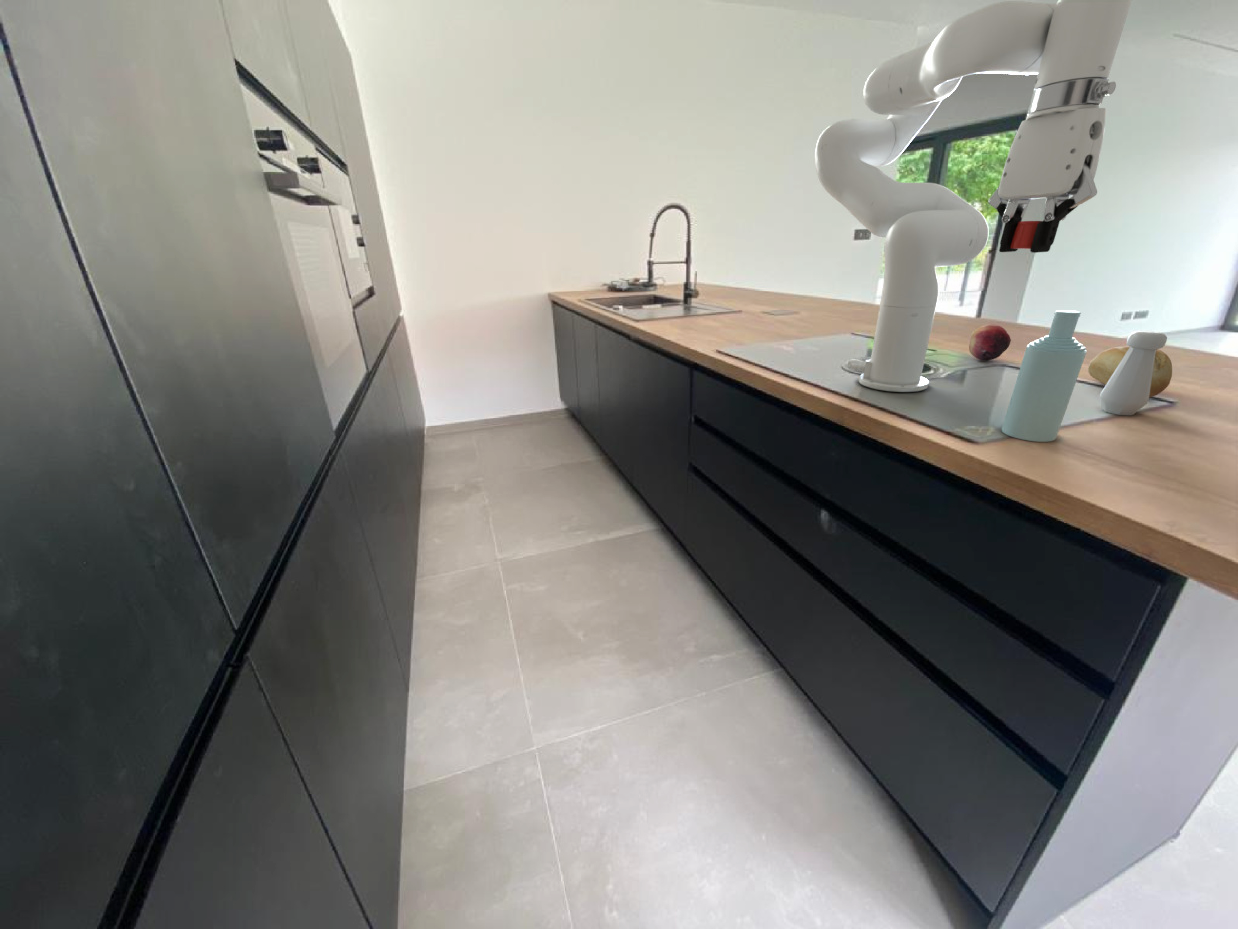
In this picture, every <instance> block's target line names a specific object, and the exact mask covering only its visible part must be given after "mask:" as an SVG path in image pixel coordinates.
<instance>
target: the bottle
mask: <svg viewBox="0 0 1238 929" xmlns="http://www.w3.org/2000/svg"><path fill="white" fill-rule="evenodd" d="M1081 314H1082V312H1081V311H1080V310H1071V309H1058V310H1055V312H1054V316H1053V319H1052V322H1051V325H1050V327H1049V332H1048V334H1047V335H1044V337H1043V336H1042V337H1040V338H1039V339H1035V340H1034V341H1031V342H1030V343H1029V344H1027V345H1026V347H1025V350H1024V354H1023V357H1022V360H1021V364H1020V368H1019V371H1018V374H1017V377H1016V380H1015V383H1014V387H1013V391H1012V394H1011V397H1010V400H1009V404H1008V406H1007V410H1006V414H1005V417H1004V420H1003V423H1002V426H1001V432H1002V433H1003V434H1005V435H1007V436H1009V437H1011V438H1015V439H1018V440H1023V441H1028V442H1036V443H1037V442H1038V443H1047V442H1053V441H1056V439H1057V436H1058V435H1059V434H1058V433H1059V431H1060V428H1061V425H1062V423H1063V420H1064V417H1065V415H1066V411H1067V409H1068V405H1069V403H1070V401H1071V397H1072V394H1073V392H1074V389H1075V386H1076V383H1077V380H1078V377H1079V374H1080V372H1081V369H1082V366H1083V363H1084V360H1085V357H1086V355H1087V352H1088V350H1087V349H1086V346H1085V345H1083V343H1081V342H1080V341H1079V340H1077V339H1076V337H1073V336H1074V333H1075V330H1076V327H1077V324H1078V322H1079V319H1080V317H1081Z"/></svg>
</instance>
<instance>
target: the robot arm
mask: <svg viewBox="0 0 1238 929" xmlns="http://www.w3.org/2000/svg"><path fill="white" fill-rule="evenodd" d="M1131 4H1132V0H1057V1H1056V3H1043V2H1032V1H1023V0H1022V1H1021V0H1007V1H1000V2H995V3H992V4H988V5H986V6H983V7H980V8H978V9H976V10H973V11H972V12H968V13H967V14H964V15H962V16H959V17H958V18H955V19H954V20H952V21H950V22H949V23H948V24H947V25H945V26H944V27H943V28H942V30H941V31H940V32H939V33H938V34H937V35H936V37H935V38H934V39H933V40H932V41H931V42H928V43H926V44H924V45H921V46H918V47H916V48H914V49H911V50H908V51H906V52H904V53H901V54H899V55H896V56H894V57H892V58H889V59H887V60H885V61H884V62H882V63H880V64H879V65H878V66H877V67H875V68H874V70H872V71H871V73H870V74H869V76H868V77H867V79H866V81H865V84H864V87H863V92H862V94H863V95H862V96H863V101H864V103H865V105H866V107H867V109H869V110H870V111H871V112H873V113H875V114H876V115H877V114H878V115H882V116H883V115H884V116H885V115H886V116H888V117H887V118H848V119H843V120H839V121H836V122H833V123H832V124H830V125H828V126H827V127H826V128H825V129H823V130H822V132H821V133H820V135H819V137H818V139H817V141H816V144H815V149H814V165H815V170H816V175H817V178H818V180H819V182H820V184H821V186H822V187H823V189H824V190H825V191H826V192H827V193H828V194H829V195H830V196H831V197H832V198H833V199H835V201H837V202H838V203H839V204H840V205H842V207H844V208H845V209H846V210H847V211H848V212H849V213H850V214H851V215H852V216H853V217H854V218H855V219H856V220H857V221H858V222H859V223H860V224H861V225H862V226H864V227H865V229H866V230H868V231H869V232H870V233H871V234H872V235H874V236H876V237H880V238H885V240H884V246H883V256H884V257H883V258H884V259H883V260H884V274H883V282H882V283H883V284H882V292H881V297H880V303H879V309H878V315H877V320H876V327H875V333H874V338H873V344H872V348H871V354H870V355H871V357H870V358H869V359H865V360H861V359H860V360H859V359H854V358H850V359H849V360H848V362H847V368H848V369H850V370H851V371H860V372H861V374H860V375H859V377H858V382H859V384H861V385H862V386H864V387H867V388H870V389H873V390H877V391H878V390H879V391H882V392H883V391H885V392H892V393H914V392H920V391H921V392H922V391H924V390H926V389H928V388H929V384H930V381H929V380H928V379H927V378H925V377H924V376H922V374H923V369H924V365H925V361H926V357H927V356H926V355H927V352H928V346H929V344H930V338H931V333H932V328H933V325H934V321H935V320H934V319H935V317H936V316H935V315H936V310H937V307H938V301H939V295H940V284H939V283H940V282H939V279H938V276H937V271H936V268H941V267H953V266H961V265H964V264H966V263H969V262H971V261H972V260H974V259H976V258H977V257H978V256H979V255H980V254H981V253H982V252H983V250H984V249H985V248H986V247H987V246H986V245H987V243H988V240H989V234H990V232H989V231H990V230H989V225H988V222H987V220H986V218H985V216H984V215H983V214H982V212H980V211H979V210H978V209H977V208H975V207H974V206H973V205H972V204H970V203H969V202H967V201H966V200H965V199H964V198H962V197H961V196H959V195H958V194H956V193H955V192H954V191H952V190H951V189H950V188H948V187H947V186H944V185H942V184H939V183H935V182H904V181H903V182H902V181H901V182H900V181H897V180H894V179H893V178H891V177H890V176H888V175H887V174H886V173H885V172H884V171H882V170H881V169H880V168H881V167H885V166H888V165H890V164H891V163H893V162H894V161H895V160H897V159H898V158H899V157H900V156H901V155H902V153H903V152H904V151H905V150H906V149H907V147H908V146H909V145H910V143H911V142H912V141H913V140H914V139H915V137H916V136H917V135H918V133H919V132H920V131H921V129H922V128H923V127H924V125H925V124H926V123H927V122H928V121H929V120H930V118H931V117H932V115H933V114H934V113H935V111H936V110H937V109H938V107H939V106H940V104H941V102H942V101H943V100H944V99H946V98H947V97H949V96H951V94H953V92H955V90H956V89H957V88H958V86H959V85H960V83H961V81H962V79H963V77H966V76H971V75H974V74H976V75H977V74H1003V75H1005V74H1006V75H1007V74H1008V75H1022V76H1023V75H1025V76H1029V75H1037V76H1036V79H1035V84H1034V88H1033V92H1032V95H1031V99H1030V103H1029V107H1028V111H1027V116H1026V119H1024V120H1022V121H1021V122H1020V125H1019V126H1018V129H1017V131H1016V133H1015V136H1014V138H1013V141H1012V143H1011V146H1010V148H1009V150H1008V154H1007V157H1006V160H1005V163H1004V167H1003V170H1002V174H1001V177H1000V181H999V186H997V188H996V190H995V191H994V192H993V193H992V195H991V196H990V198H989V199H988V205H990V207H992V208H993V209H995V210H996V212H997V213H998V214H999V215H1000V217H1001V222H1002V224H1004V226H1003V230H1002V233H1001V234H1002V235H1001V237H1000V242H999V245H1000V246H999V250H998V251H999V253H1010V252H1011V253H1012V252H1017V251H1018V250H1019V249H1012V248H1011V247H1010V246H1011V243H1012V240H1013V237H1014V233H1015V230H1016V227H1017V226H1018V222H1020V221H1023V219H1024V216H1025V213H1026V211H1027V209H1028V208H1029V204H1030V202H1031V200H1036V199H1037V200H1038V199H1045V203H1044V211H1043V220H1042V221H1043V222H1039V223H1038V224H1037V228H1036V231H1035V235H1034V238H1033V242H1032V245H1031V249H1029V251H1030V253H1047V252H1050V250H1051V248H1052V245H1053V244H1054V242H1055V240H1056V235H1057V232H1058V229H1059V226H1060V222H1062V221H1064V220H1065V219H1066V218H1067V216H1068V215H1069V214H1071V212H1073V211H1074V210H1075V209H1076V208H1077V207H1079V206H1080V205H1082V204H1084V203H1086V202H1087V201H1089V200H1091V199H1092V198H1095V197H1096V196H1097V194H1098V189H1097V186H1096V183H1095V176H1096V173H1097V170H1098V166H1099V162H1100V157H1101V153H1102V148H1103V143H1104V137H1105V130H1106V119H1107V107H1100V106H1101V105H1102V103H1103V99H1104V97H1105V98H1106V96H1110V95H1112V94H1113V93H1114V92H1115V91H1116V87H1117V82H1116V81H1109V76H1110V73H1111V70H1112V67H1113V63H1114V59H1115V57H1116V54H1117V50H1118V46H1119V43H1120V39H1121V36H1122V33H1123V30H1124V27H1125V23H1126V21H1127V17H1128V14H1129V10H1130V7H1131Z"/></svg>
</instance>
